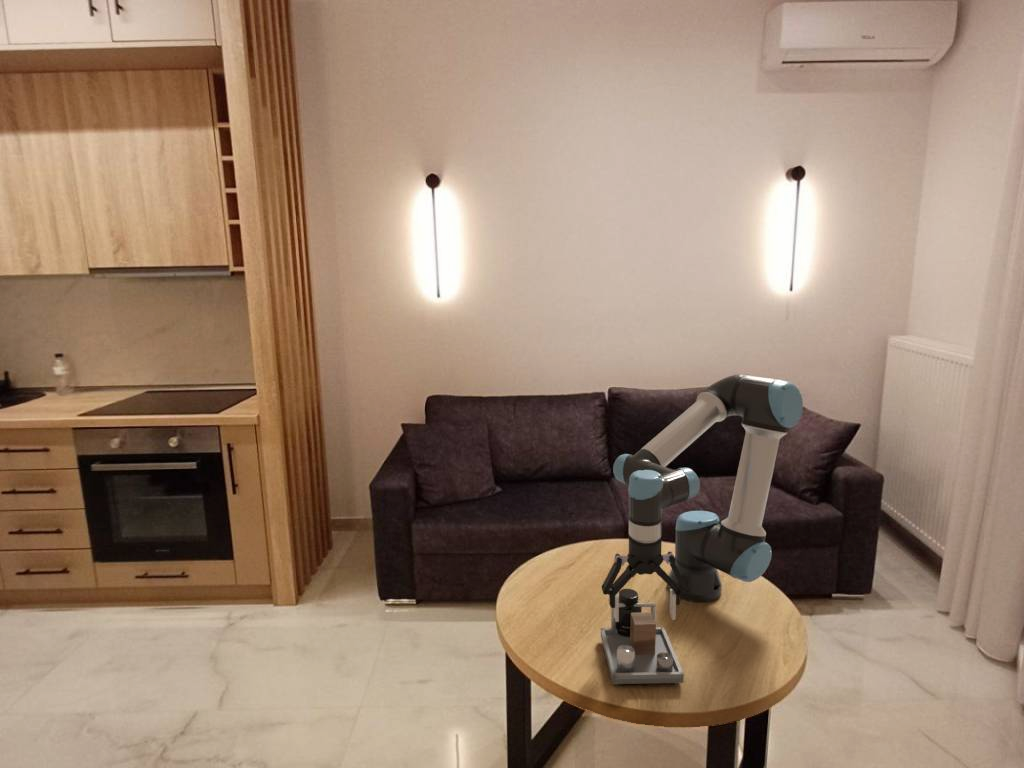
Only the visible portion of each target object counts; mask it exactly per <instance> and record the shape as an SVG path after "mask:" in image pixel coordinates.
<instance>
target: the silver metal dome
mask: <svg viewBox="0 0 1024 768" xmlns="http://www.w3.org/2000/svg"><path fill="white" fill-rule="evenodd" d="M656 668H657V671H658V672H672V671H673V657H672V656H671V655H670V654H668V653H659V654H658V655H657V667H656Z"/></svg>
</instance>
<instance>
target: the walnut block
mask: <svg viewBox="0 0 1024 768" xmlns="http://www.w3.org/2000/svg"><path fill="white" fill-rule="evenodd" d="M656 627H657V623H656V620H655V621H654V618H653V616H652V613H651V611H649V612H647V611H646V612H645V611H644V612H643V611H642V612H641V613H631V625H630V643H631V646H632V647H633V648H634V650H635V655H647V654H655V640H656Z"/></svg>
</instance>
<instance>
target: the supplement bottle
mask: <svg viewBox="0 0 1024 768" xmlns="http://www.w3.org/2000/svg"><path fill="white" fill-rule="evenodd" d="M618 597H619V603H623V604H625V605H626V606H625V607H619V622H615V628H616V629H617V634H619V635H621V636H625V637H630V625H631V613H642V612H643V609H642V608H643V607H635V606H634V605H635V604H636V603H640V602H639V592H638V591H636V590H634V589H633V588H622V589H621V590H620V591H619V592H618Z"/></svg>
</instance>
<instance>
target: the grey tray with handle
mask: <svg viewBox="0 0 1024 768" xmlns="http://www.w3.org/2000/svg"><path fill="white" fill-rule="evenodd" d="M625 606H626V605H625V604H623V603H619V607H625ZM634 606H635V607H642V608H650V612H651V613H652V616H653V618H654V621H655V622H656V602H639V603H636V604H635V605H634ZM610 608H611V607H610ZM610 610H611V611H610V613H611V615H610V617H611V618H610V627H608V628H606V627H605V628H603V627H601V628H600V638H601V642H602V646H603V647H602V648H603V650H604V651H603V652H604V655H605V658H606V663H607V666H608V671H609V674H610V675H609V676H610V679H611V682H612V685H618V686H623V685H628V684H629V685H632V684H633V685H635V684H637V685H638V684H639V685H640V684H641V685H642V684H671V685H676V684H684V675H685V674H684V672H683V669H682V667H681V665H680V662H679V660H678V658H677V655H676V653H675V650H674V648H673V645H672V643H671V640H670V638H669V636H668V634H667V632H666V629H665V627H664V626H659V627H658V626H656V640H655V654H647V655H635V665H634V673H619V672H618V671H617V648H618V647H619V646H621V645H628V646H631V643H630V637H625V636H621V635H619V634H617V629H616V628H615V618H614V608H611V609H610ZM631 647H632V646H631ZM659 653H668V654H670V655H671V656H672V657H673V671H672V672H658V671H657V668H656V667H657V655H658V654H659Z"/></svg>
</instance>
